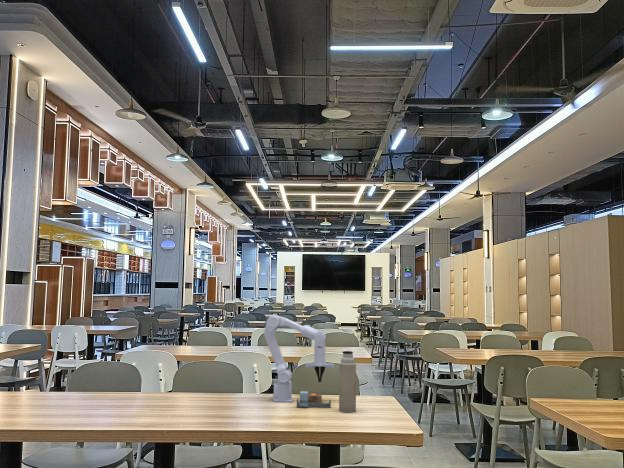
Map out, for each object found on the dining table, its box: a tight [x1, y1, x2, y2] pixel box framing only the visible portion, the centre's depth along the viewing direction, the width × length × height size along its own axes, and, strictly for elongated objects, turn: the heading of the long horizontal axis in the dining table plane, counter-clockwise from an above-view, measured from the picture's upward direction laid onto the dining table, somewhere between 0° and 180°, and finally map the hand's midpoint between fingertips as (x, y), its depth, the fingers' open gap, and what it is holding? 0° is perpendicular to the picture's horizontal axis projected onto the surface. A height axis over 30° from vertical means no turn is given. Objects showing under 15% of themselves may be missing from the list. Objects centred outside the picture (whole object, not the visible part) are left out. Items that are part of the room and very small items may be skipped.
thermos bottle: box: [338, 350, 357, 414], centre depth 269 cm, size 8×8×28 cm
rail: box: [296, 398, 332, 409], centre depth 276 cm, size 17×3×4 cm, turn 90°
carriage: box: [299, 390, 309, 406], centre depth 276 cm, size 4×5×6 cm
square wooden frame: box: [308, 392, 323, 402], centre depth 287 cm, size 8×8×4 cm
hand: (319, 381), depth 290 cm, fingers closed
